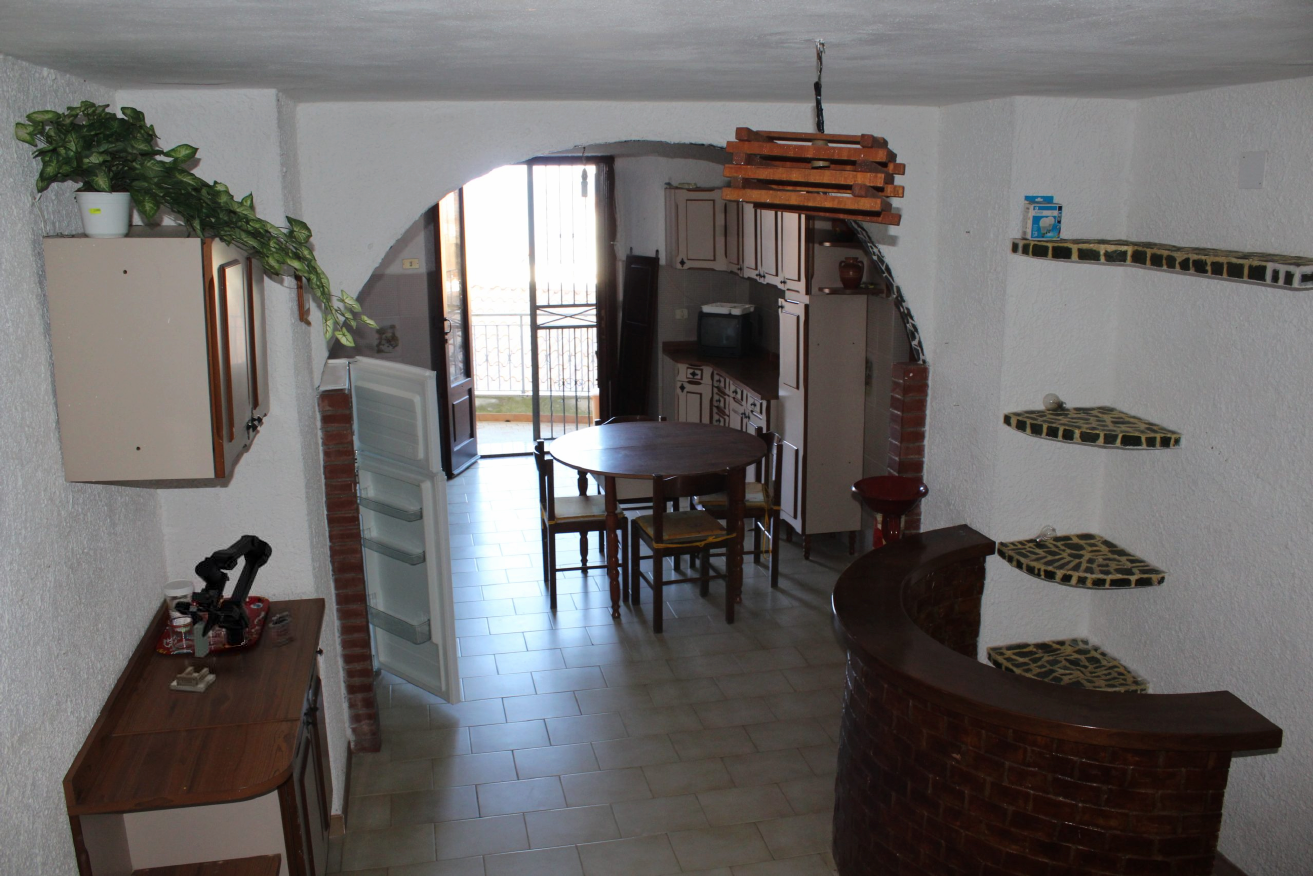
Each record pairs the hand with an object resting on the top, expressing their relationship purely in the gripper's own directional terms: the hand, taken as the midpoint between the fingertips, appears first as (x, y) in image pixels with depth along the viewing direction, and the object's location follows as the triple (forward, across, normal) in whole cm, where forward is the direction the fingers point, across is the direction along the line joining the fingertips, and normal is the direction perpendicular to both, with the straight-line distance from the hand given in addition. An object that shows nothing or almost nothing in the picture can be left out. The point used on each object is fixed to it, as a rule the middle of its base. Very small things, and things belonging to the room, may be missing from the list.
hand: (198, 636), depth 311 cm
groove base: (+13, 0, +6) cm, 14 cm away
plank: (+4, 0, +6) cm, 7 cm away
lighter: (-9, +14, +28) cm, 33 cm away
